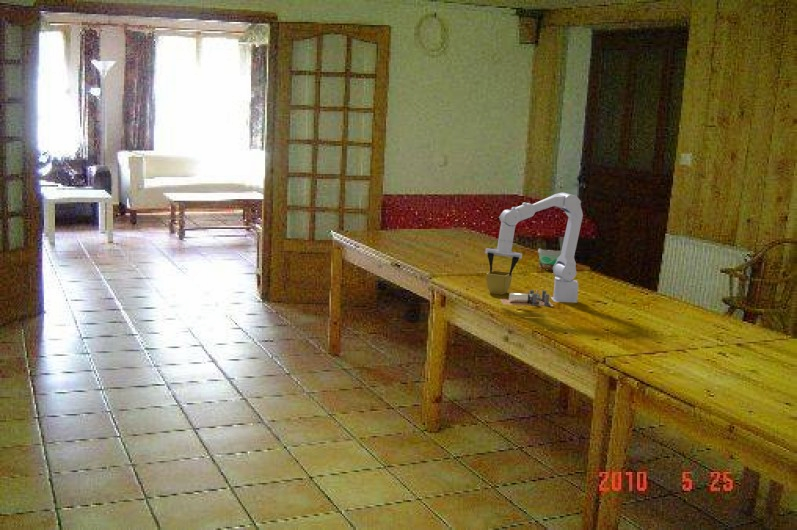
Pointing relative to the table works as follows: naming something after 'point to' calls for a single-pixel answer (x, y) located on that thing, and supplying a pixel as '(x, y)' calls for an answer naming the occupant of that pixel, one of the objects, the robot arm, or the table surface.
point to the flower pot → (498, 282)
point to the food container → (548, 258)
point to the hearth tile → (506, 302)
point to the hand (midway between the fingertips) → (500, 273)
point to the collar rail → (543, 298)
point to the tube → (522, 298)
